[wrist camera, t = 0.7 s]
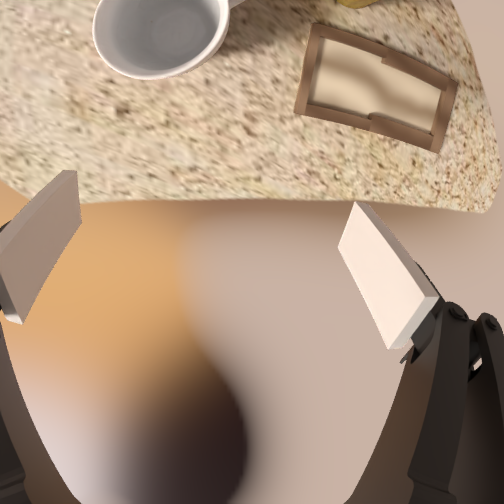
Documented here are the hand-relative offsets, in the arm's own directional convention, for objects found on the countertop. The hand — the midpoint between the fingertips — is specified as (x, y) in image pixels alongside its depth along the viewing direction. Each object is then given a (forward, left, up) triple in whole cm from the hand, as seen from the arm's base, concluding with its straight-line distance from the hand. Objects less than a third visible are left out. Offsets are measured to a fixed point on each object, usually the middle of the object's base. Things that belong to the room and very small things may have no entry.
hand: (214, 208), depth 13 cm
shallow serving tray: (-8, +20, -25) cm, 33 cm away
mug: (-11, -5, -25) cm, 28 cm away
